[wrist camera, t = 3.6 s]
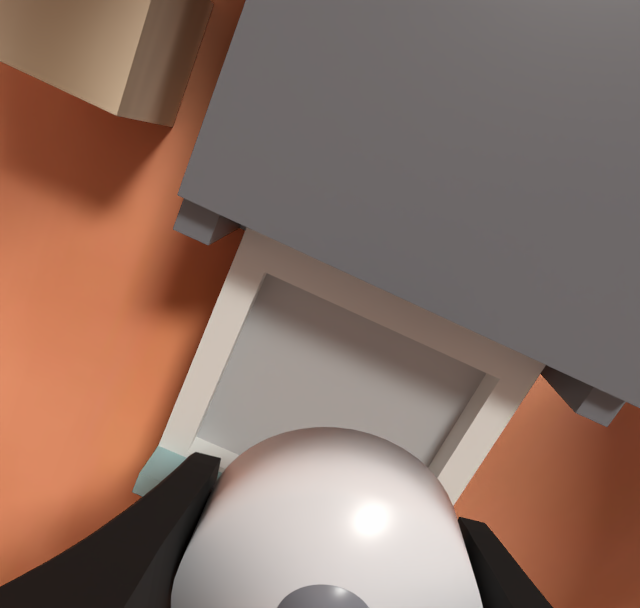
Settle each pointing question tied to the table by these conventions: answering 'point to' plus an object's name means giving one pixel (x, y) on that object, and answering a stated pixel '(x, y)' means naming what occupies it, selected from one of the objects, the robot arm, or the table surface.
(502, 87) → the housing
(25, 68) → the birch block
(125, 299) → the table surface
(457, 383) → the tray
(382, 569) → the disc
